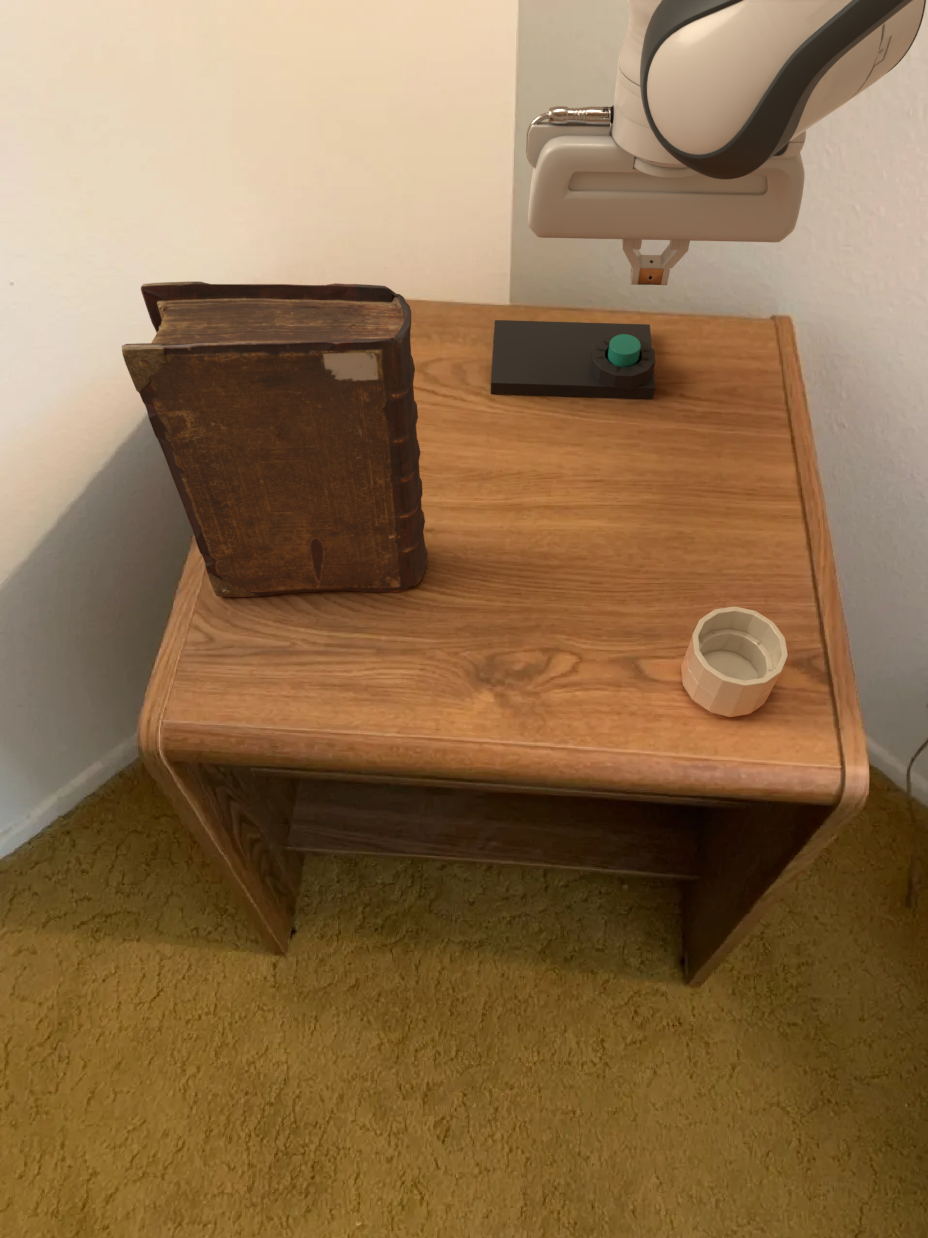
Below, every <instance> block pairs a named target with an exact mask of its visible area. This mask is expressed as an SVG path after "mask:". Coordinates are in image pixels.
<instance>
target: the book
mask: <svg viewBox="0 0 928 1238" xmlns="http://www.w3.org/2000/svg"><path fill="white" fill-rule="evenodd" d="M140 291H141V295H142V298H143V302H144V304H145V308H146V311H147V313H148V316H149V319H150V321H151V324H152V327H153V329H154V330H155V333H156V334H155V336H154V337H153V339H152V340H151V342H149V343H147V342H146V343H145V342H144V343H142V342H141V343H140V342H139V343H125V344H122V345H121V354H122V357H123V360H124V365H125V366H126V369H127V371H128V374H129V376H130V379H131V380H132V383H133V386H134V387H135V391H136V392H137V393H138V394H139V396H140V398H141V401H142V403H143V405H144V406H145V409H146V412H147V416H148V420H149V424H150V425H151V428H152V431H153V433H154V436H155V437H156V439H157V441H158V444H159V446H160V448H161V451H162V453H163V455H164V459H165V461H166V463H167V466H168V470H169V472H170V475H171V477H172V480H173V483H174V484H175V487H176V491H177V493H178V495H179V498H180V500H181V503H182V506H183V509H184V511H185V513H186V517H187V519H188V522H189V525H190V527H191V529H192V533H193V536H194V540H195V543H196V545H197V548H198V551H199V553H200V555H201V556H202V558H203V561H204V565H205V570H206V573H207V576H208V579H209V582H210V585H211V587H212V590H213V592H214V595H215V597H223V598H224V597H225V598H226V597H227V598H229V597H230V598H231V597H232V598H245V597H247V598H248V597H263V596H265V597H266V596H267V597H269V596H271V595H283V594H295V593H296V594H297V593H312V592H361V593H398V592H406V591H407V590H408V589H409V588H410V587H415V586H417V585H418V584H419V583H420V582H421V580H422V578H423V576H424V574H425V570H426V568H427V563H428V554H429V553H428V550H427V546H426V541H425V536H424V535H425V534H424V529H425V524H426V518H425V513H424V511H423V507H422V497H423V494H424V493H423V480H422V478H421V477H420V476H421V473H420V472H421V471H420V457H421V447H420V444H419V440H418V433H417V432H418V431H417V424H418V419H419V413H418V403H417V401H416V400H415V389H414V388H415V387H414V380H415V373H416V367H415V362H414V358H413V355H412V346H411V344H412V343H411V329H412V309H411V306H410V304H409V303H408V302H407V301H406V299H405V297H404V296H403V295H402V294H400V293H396V292H395V291H394V290H392V289H391V288H389V287H387V286H386V285H380V284H363V283H362V284H361V283H329V284H293V283H291V284H290V283H289V284H288V283H244V284H243V283H208V282H204V281H167V282H166V281H165V282H164V281H163V282H151V283H143V284H142V285H141V286H140Z"/></svg>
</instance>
